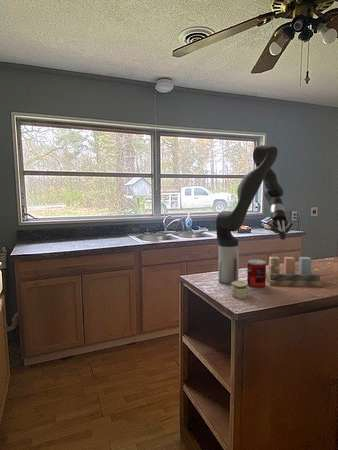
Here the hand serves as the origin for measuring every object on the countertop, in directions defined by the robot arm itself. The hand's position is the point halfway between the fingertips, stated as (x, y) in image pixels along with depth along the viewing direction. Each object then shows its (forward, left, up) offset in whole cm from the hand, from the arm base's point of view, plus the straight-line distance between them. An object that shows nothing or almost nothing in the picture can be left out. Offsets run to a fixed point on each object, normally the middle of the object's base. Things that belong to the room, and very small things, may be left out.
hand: (283, 238), depth 145 cm
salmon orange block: (0, -13, -15) cm, 20 cm away
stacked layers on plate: (-26, -38, -18) cm, 49 cm away
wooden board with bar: (0, -16, -17) cm, 23 cm away
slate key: (+7, -13, -15) cm, 21 cm away
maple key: (-7, -13, -15) cm, 21 cm away
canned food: (-17, -24, -18) cm, 34 cm away
